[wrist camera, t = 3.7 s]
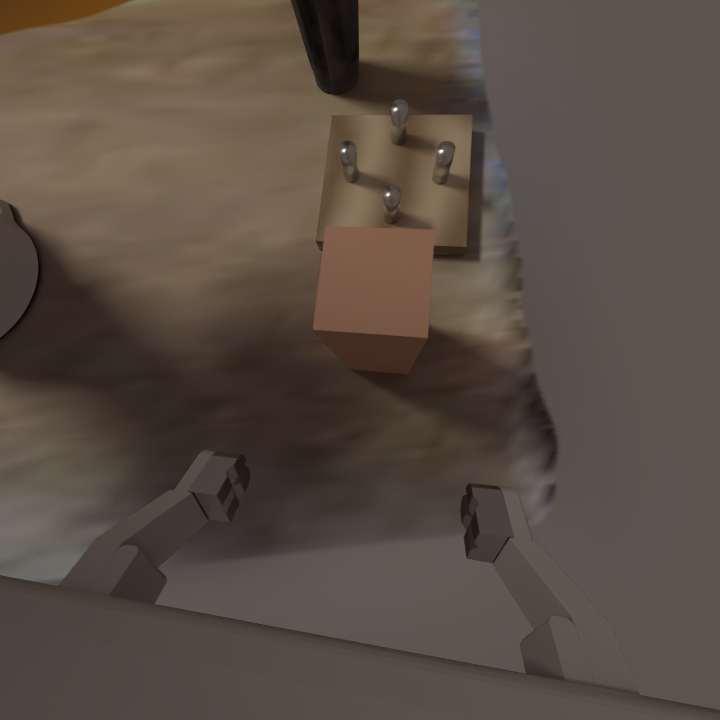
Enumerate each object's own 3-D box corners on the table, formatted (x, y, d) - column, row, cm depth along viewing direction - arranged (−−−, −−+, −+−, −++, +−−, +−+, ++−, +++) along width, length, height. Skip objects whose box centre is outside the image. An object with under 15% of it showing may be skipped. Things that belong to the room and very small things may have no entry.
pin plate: (319, 249, 28) (306, 219, 24) (335, 130, 30) (325, 81, 26) (462, 255, 27) (476, 225, 22) (468, 129, 29) (482, 78, 24)
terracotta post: (349, 369, 26) (312, 329, 13) (355, 314, 27) (325, 225, 14) (407, 374, 25) (427, 338, 13) (412, 317, 26) (434, 229, 13)
